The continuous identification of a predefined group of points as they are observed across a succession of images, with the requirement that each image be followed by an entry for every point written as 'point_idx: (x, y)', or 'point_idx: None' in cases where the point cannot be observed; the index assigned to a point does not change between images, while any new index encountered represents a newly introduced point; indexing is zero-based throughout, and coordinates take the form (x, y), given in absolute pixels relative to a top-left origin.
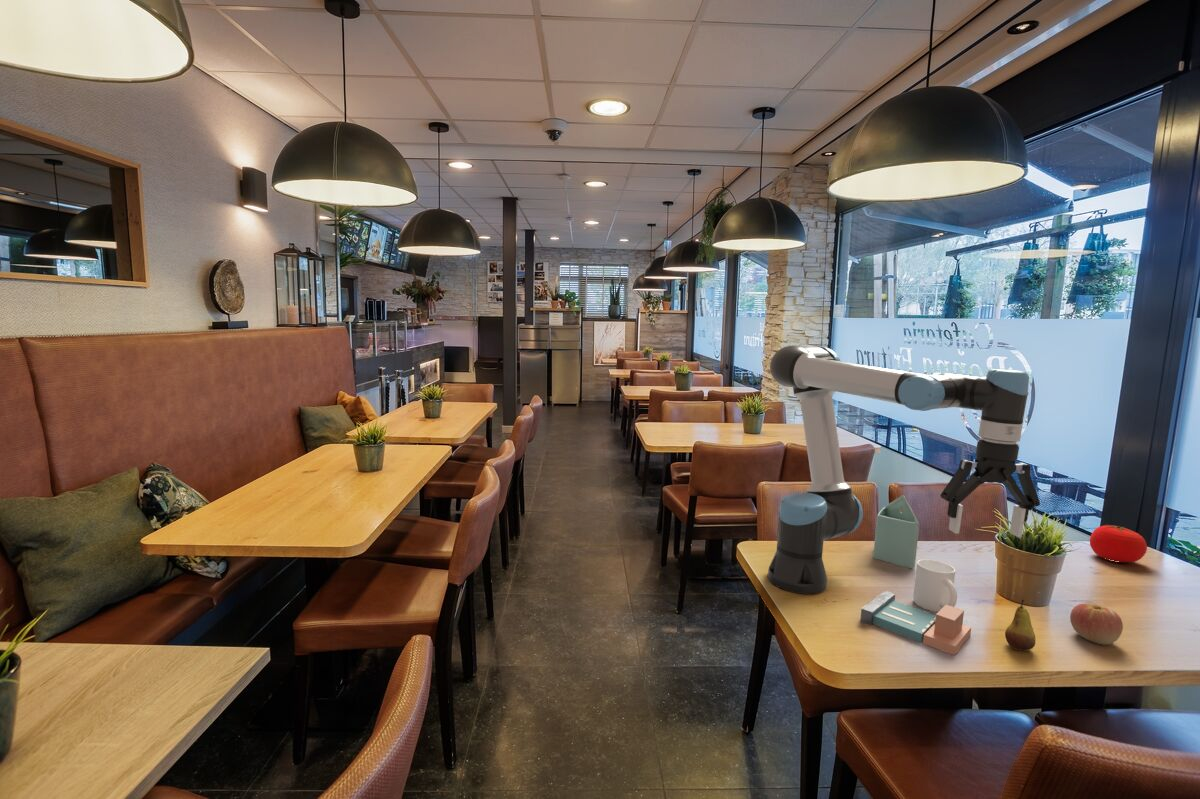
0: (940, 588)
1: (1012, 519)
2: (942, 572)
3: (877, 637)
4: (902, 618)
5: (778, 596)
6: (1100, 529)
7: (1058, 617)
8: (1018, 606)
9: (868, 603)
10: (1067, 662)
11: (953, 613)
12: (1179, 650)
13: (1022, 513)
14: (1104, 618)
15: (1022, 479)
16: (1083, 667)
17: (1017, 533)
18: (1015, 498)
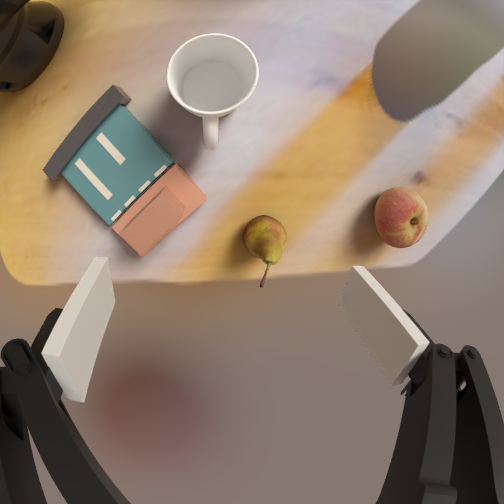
0: (199, 115)
1: (378, 303)
2: (246, 60)
3: (61, 211)
4: (100, 177)
5: None
6: None
7: (398, 149)
8: (267, 257)
9: (58, 148)
10: (299, 260)
11: (153, 230)
12: (440, 233)
13: (383, 370)
14: (398, 245)
15: (467, 481)
16: (309, 270)
17: (345, 307)
18: (426, 386)
